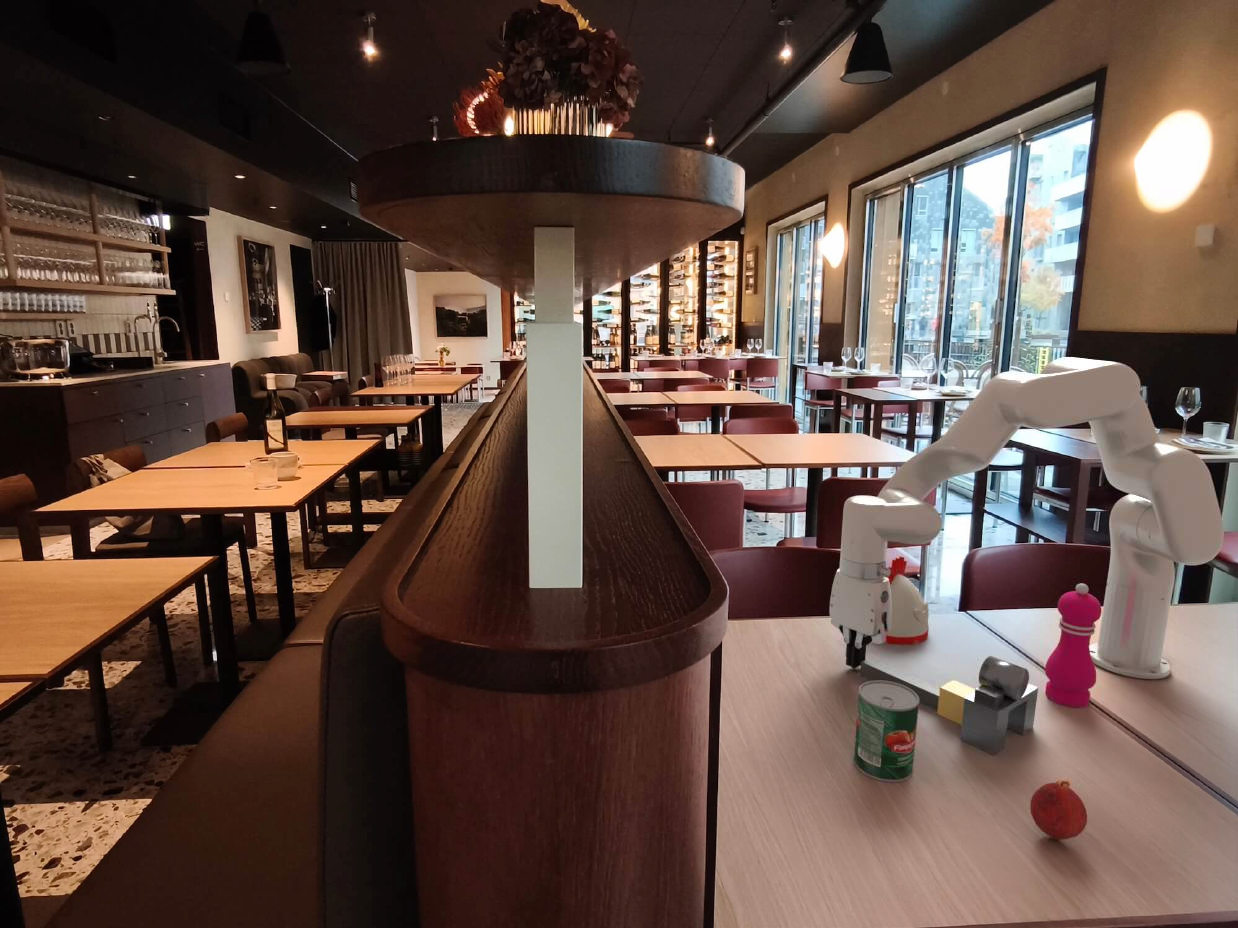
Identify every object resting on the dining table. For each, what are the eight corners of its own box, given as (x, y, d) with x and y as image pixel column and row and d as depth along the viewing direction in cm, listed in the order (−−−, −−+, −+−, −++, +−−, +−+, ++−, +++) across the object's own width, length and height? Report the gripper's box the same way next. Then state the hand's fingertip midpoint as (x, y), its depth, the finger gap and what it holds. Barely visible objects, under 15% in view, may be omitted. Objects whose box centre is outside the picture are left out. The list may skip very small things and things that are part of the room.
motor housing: (1000, 713, 116) (1008, 646, 114) (1033, 727, 112) (1042, 658, 110) (960, 739, 109) (967, 667, 107) (993, 755, 105) (1002, 681, 103)
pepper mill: (1100, 711, 117) (1118, 593, 113) (1051, 706, 118) (1066, 590, 114) (1081, 689, 124) (1098, 577, 120) (1035, 684, 125) (1049, 574, 121)
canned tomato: (858, 743, 108) (864, 674, 106) (915, 758, 104) (922, 687, 102) (848, 772, 101) (854, 700, 99) (909, 789, 98) (916, 714, 95)
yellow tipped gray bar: (870, 670, 130) (872, 646, 129) (981, 719, 115) (984, 692, 114) (857, 676, 128) (859, 652, 127) (967, 727, 112) (970, 700, 111)
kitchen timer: (938, 629, 147) (945, 558, 144) (911, 651, 138) (917, 576, 135) (872, 610, 157) (877, 543, 154) (842, 630, 147) (847, 559, 144)
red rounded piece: (1055, 859, 85) (1063, 799, 83) (1015, 827, 90) (1023, 769, 89) (1094, 849, 87) (1103, 790, 85) (1053, 818, 92) (1061, 761, 90)
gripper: (913, 575, 123) (904, 675, 127) (840, 551, 135) (834, 644, 139) (887, 584, 119) (878, 687, 123) (813, 559, 131) (808, 654, 134)
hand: (855, 664), depth 131 cm, fingers closed
